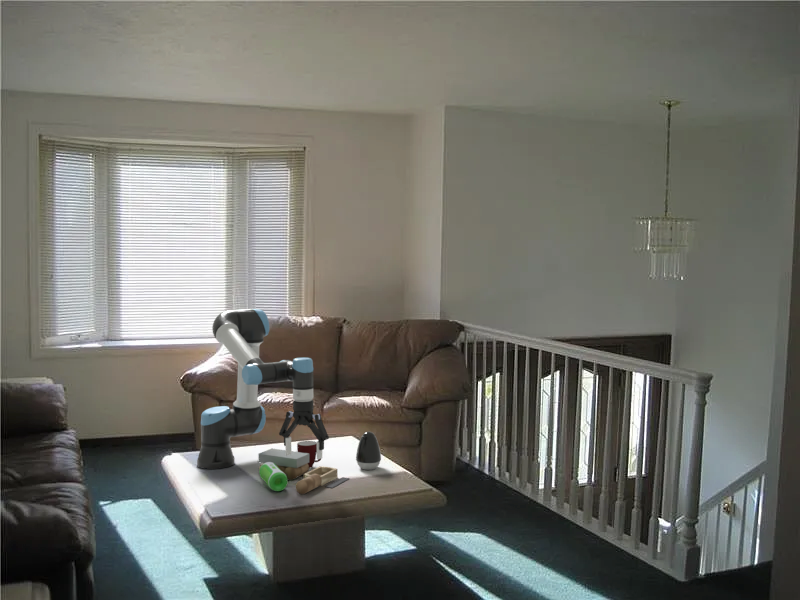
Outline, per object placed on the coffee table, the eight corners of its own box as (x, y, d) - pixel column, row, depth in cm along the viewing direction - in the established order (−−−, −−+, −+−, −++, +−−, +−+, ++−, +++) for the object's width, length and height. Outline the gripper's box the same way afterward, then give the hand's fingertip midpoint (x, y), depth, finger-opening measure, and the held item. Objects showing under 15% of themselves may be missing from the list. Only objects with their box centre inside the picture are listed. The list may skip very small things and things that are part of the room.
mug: (325, 465, 306) (325, 441, 305) (319, 470, 298) (319, 446, 297) (301, 463, 308) (301, 440, 308) (294, 469, 300) (294, 445, 300)
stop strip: (325, 487, 277) (325, 486, 277) (342, 477, 289) (342, 477, 289) (332, 488, 276) (332, 487, 276) (349, 478, 287) (349, 478, 287)
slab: (258, 462, 292) (258, 453, 292) (271, 456, 300) (271, 448, 300) (296, 468, 284) (296, 459, 284) (309, 462, 293) (309, 453, 292)
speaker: (258, 480, 285) (257, 461, 285) (276, 478, 288) (276, 459, 288) (269, 494, 269) (269, 473, 269) (288, 491, 272) (288, 471, 272)
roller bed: (258, 475, 292) (258, 462, 292) (273, 468, 301) (273, 456, 301) (295, 481, 285) (294, 468, 284) (309, 474, 294) (309, 461, 293)
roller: (293, 484, 270) (302, 478, 268) (308, 477, 279) (317, 471, 277) (300, 496, 269) (309, 490, 267) (314, 489, 278) (324, 482, 276)
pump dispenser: (351, 470, 299) (351, 433, 298) (362, 463, 309) (362, 427, 308) (374, 473, 295) (374, 435, 294) (384, 466, 305) (384, 430, 304)
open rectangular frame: (302, 483, 281) (302, 474, 281) (320, 474, 293) (320, 465, 293) (320, 486, 278) (320, 477, 278) (338, 477, 290) (338, 468, 289)
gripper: (269, 399, 275) (270, 455, 276) (326, 404, 264) (327, 462, 265) (281, 395, 281) (281, 450, 282) (337, 400, 271) (338, 457, 272)
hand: (303, 456), depth 274 cm, fingers open, 13 cm apart
